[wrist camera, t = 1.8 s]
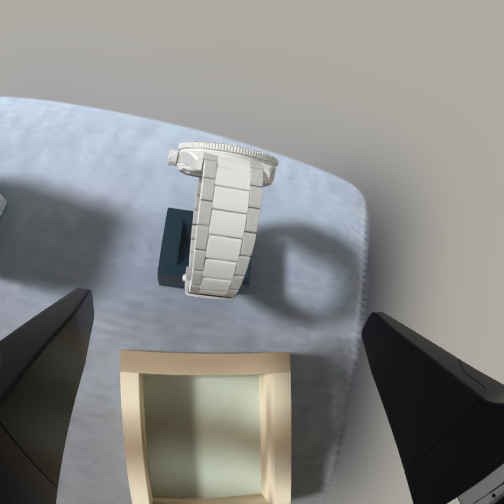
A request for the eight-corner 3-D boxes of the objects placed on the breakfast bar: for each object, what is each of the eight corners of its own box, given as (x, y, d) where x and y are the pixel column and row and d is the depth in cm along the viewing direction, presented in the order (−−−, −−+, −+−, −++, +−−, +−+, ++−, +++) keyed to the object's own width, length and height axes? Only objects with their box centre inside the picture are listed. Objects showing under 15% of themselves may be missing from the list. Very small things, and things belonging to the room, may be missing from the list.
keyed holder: (270, 498, 17) (290, 521, 13) (141, 503, 15) (138, 530, 11) (268, 351, 21) (290, 352, 17) (129, 349, 18) (120, 349, 15)
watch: (243, 213, 23) (298, 117, 13) (236, 319, 21) (302, 289, 11) (170, 202, 22) (179, 94, 12) (155, 310, 19) (138, 270, 9)
